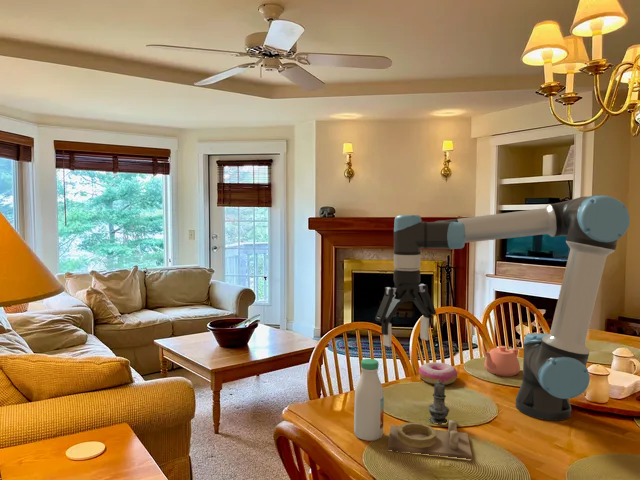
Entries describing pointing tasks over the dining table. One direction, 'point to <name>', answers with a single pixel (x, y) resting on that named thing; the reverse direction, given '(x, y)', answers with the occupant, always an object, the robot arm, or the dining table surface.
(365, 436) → the milk bottle
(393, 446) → the board
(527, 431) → the dining table surface
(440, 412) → the dark grey tapered tower
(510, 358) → the teapot
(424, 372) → the donut
